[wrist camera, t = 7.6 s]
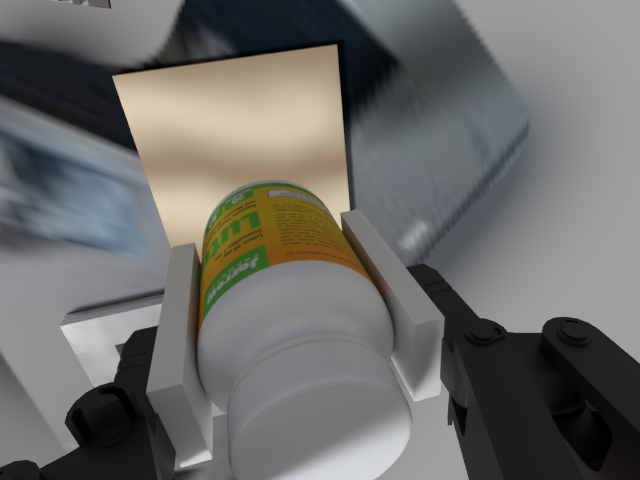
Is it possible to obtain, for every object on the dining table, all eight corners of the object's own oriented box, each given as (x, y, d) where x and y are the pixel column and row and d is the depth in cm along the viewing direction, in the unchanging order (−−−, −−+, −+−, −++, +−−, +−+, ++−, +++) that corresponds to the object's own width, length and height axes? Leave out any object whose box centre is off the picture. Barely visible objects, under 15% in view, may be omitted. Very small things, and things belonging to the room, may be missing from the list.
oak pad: (114, 74, 21) (112, 76, 21) (334, 44, 23) (336, 44, 22) (178, 264, 27) (178, 269, 27) (349, 228, 29) (351, 232, 28)
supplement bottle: (235, 153, 15) (264, 319, 6) (355, 206, 17) (491, 382, 9) (182, 270, 17) (150, 520, 8) (297, 305, 19) (364, 531, 10)
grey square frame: (65, 314, 27) (59, 326, 26) (243, 275, 29) (245, 285, 28) (127, 427, 33) (124, 440, 32) (272, 389, 35) (273, 400, 34)
